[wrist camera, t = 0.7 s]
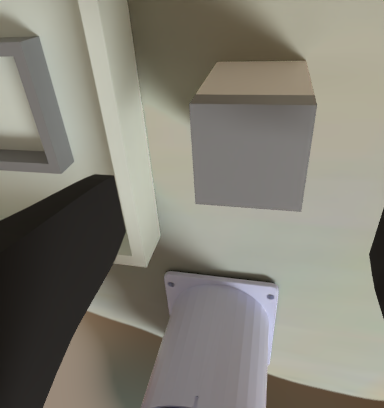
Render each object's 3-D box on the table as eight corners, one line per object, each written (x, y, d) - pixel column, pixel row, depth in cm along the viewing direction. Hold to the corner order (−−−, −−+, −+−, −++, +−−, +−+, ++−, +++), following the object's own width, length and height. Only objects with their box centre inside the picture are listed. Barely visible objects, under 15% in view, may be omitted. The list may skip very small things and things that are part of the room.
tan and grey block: (295, 143, 17) (301, 211, 13) (218, 140, 18) (195, 203, 14) (306, 60, 15) (317, 105, 10) (217, 61, 16) (188, 103, 11)
